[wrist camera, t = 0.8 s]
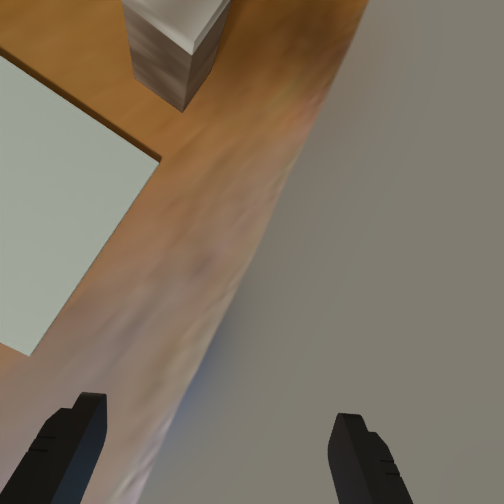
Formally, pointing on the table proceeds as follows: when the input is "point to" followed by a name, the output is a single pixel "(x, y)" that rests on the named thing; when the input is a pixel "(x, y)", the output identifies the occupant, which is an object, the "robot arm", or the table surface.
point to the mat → (54, 201)
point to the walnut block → (174, 44)
